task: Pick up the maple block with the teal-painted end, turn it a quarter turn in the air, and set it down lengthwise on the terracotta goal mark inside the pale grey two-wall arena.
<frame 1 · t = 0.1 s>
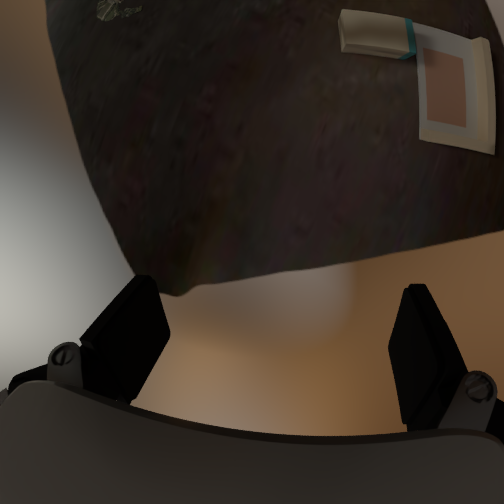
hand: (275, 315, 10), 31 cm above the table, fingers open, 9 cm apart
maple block: (372, 39, 27), on the table
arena: (453, 86, 27), on the table
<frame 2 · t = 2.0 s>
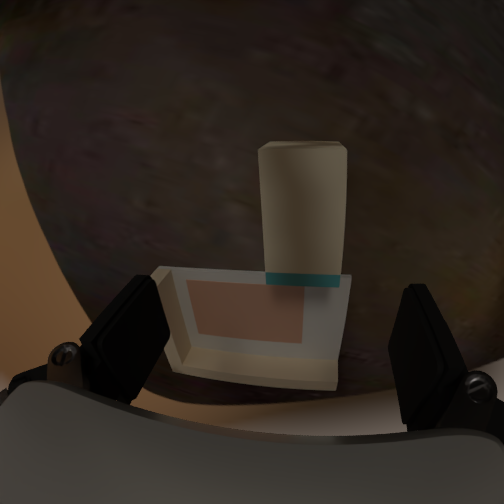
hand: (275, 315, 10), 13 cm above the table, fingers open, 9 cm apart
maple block: (305, 199, 21), on the table
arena: (252, 322, 28), on the table
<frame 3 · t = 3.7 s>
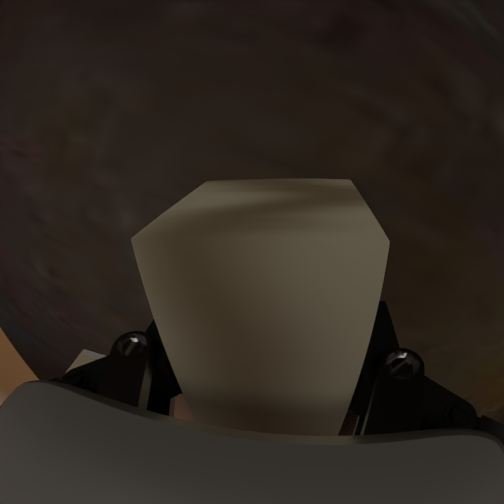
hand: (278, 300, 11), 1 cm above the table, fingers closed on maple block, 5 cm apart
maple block: (280, 290, 11), on the table, touching gripper
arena: (212, 423, 18), on the table
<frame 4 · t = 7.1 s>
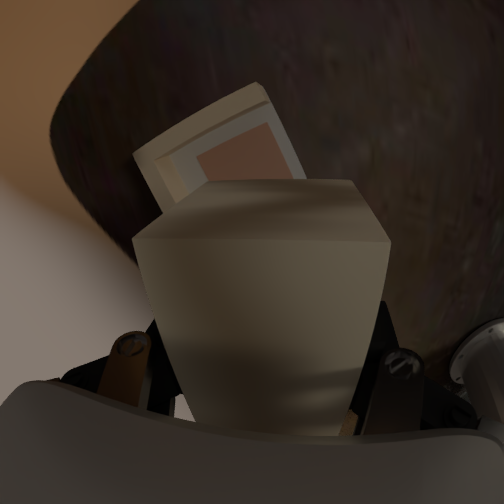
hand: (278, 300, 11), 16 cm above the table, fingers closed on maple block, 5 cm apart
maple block: (280, 290, 11), point 15 cm above the table, touching gripper
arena: (246, 204, 26), on the table
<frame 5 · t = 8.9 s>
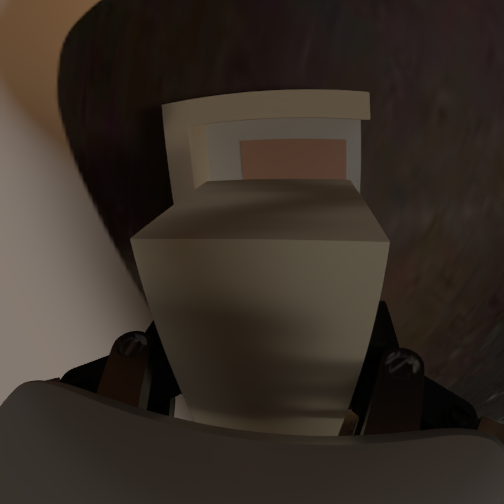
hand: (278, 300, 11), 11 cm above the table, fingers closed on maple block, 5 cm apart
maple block: (280, 290, 11), point 10 cm above the table, touching gripper
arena: (275, 221, 21), on the table
when the fingers open (3 cm above the table, at t = 10.6 s): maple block drops 1 cm, resting on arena.
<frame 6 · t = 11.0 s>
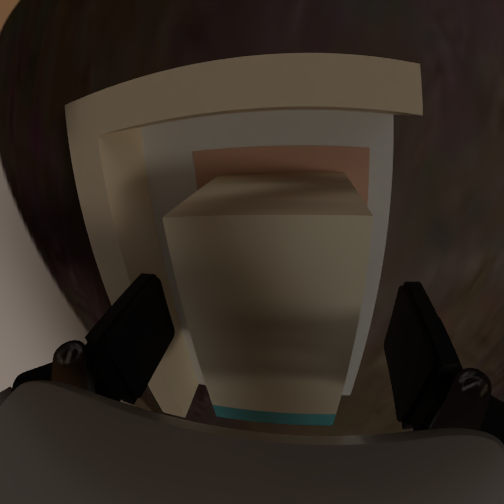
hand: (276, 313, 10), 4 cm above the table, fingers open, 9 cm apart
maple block: (284, 272, 13), point 1 cm above the table, touching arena
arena: (253, 273, 14), on the table
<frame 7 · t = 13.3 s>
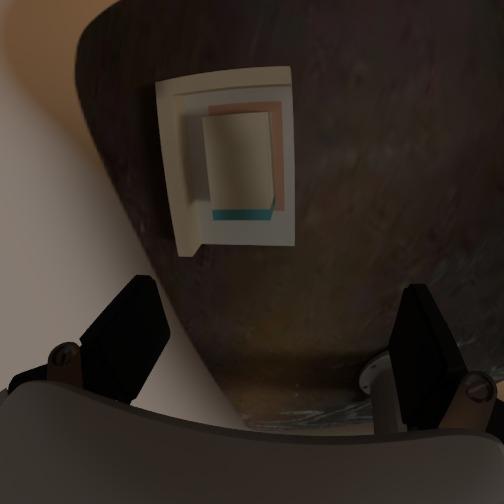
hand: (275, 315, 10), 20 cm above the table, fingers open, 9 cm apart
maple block: (247, 158, 26), point 1 cm above the table, touching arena
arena: (233, 162, 27), on the table
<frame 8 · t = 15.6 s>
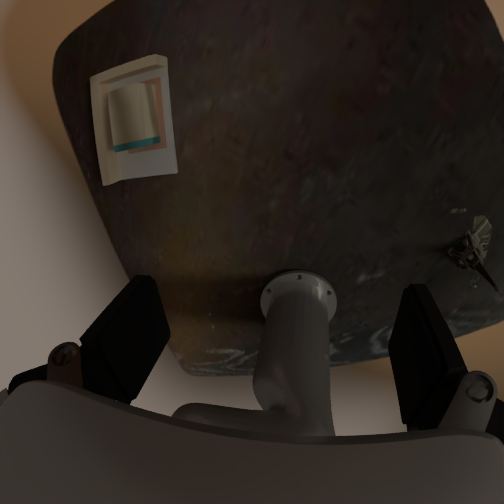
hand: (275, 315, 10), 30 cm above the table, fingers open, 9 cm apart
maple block: (143, 116, 36), point 1 cm above the table, touching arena
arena: (137, 120, 37), on the table
eiffel tower figurine: (464, 249, 37), on the table
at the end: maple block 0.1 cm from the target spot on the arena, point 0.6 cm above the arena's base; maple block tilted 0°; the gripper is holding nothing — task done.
